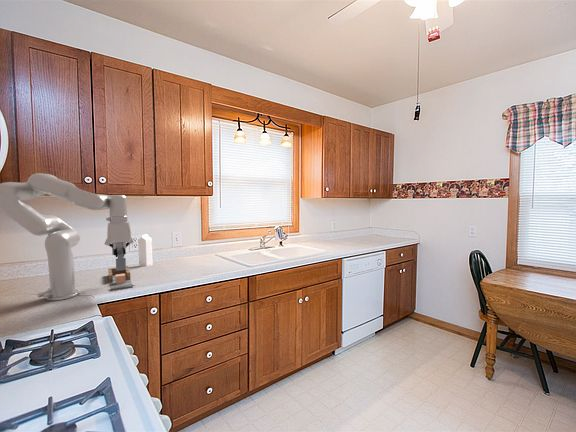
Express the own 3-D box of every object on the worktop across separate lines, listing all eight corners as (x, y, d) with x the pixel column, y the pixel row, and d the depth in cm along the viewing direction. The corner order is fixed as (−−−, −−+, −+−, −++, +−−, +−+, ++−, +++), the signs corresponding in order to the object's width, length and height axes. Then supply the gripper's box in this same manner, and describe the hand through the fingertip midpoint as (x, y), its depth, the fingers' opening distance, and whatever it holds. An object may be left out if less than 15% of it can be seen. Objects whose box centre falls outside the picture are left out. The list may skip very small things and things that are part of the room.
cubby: (132, 287, 151) (132, 278, 150) (110, 291, 145) (109, 281, 145) (127, 274, 175) (127, 266, 175) (108, 277, 170) (108, 268, 169)
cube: (125, 283, 155) (125, 275, 154) (116, 284, 152) (115, 276, 152) (125, 281, 158) (124, 273, 158) (115, 282, 156) (115, 274, 155)
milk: (152, 265, 198) (151, 233, 196) (146, 267, 192) (145, 235, 190) (145, 264, 199) (144, 233, 197) (139, 267, 193) (137, 234, 191)
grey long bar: (127, 269, 140) (127, 253, 138) (114, 271, 137) (114, 254, 135) (123, 253, 158) (123, 238, 156) (112, 254, 155) (112, 239, 153)
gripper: (99, 221, 135) (100, 259, 136) (137, 219, 143) (138, 255, 145) (99, 219, 141) (100, 256, 142) (136, 218, 150) (137, 253, 151)
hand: (119, 255), depth 143 cm, fingers closed on grey long bar
